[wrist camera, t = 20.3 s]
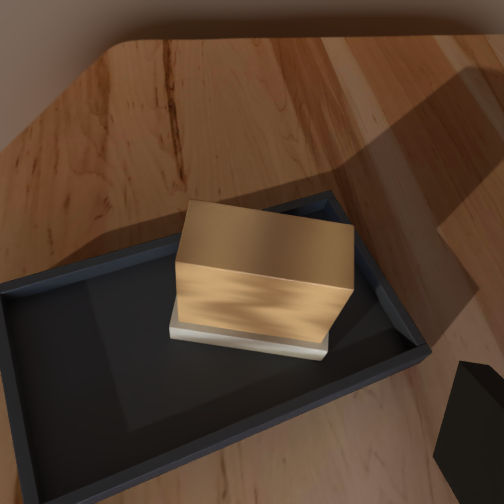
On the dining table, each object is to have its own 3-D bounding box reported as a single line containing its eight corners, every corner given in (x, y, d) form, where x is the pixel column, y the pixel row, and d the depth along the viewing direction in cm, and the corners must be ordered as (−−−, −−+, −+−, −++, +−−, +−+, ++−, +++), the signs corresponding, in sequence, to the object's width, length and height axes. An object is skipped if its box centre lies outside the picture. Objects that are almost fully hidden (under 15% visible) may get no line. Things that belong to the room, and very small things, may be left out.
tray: (-3, 302, 35) (-15, 287, 33) (324, 205, 44) (331, 189, 42) (38, 527, 28) (27, 525, 26) (420, 362, 36) (432, 352, 35)
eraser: (169, 338, 35) (163, 268, 26) (184, 272, 37) (183, 190, 29) (321, 361, 35) (363, 299, 26) (324, 294, 38) (362, 219, 29)
